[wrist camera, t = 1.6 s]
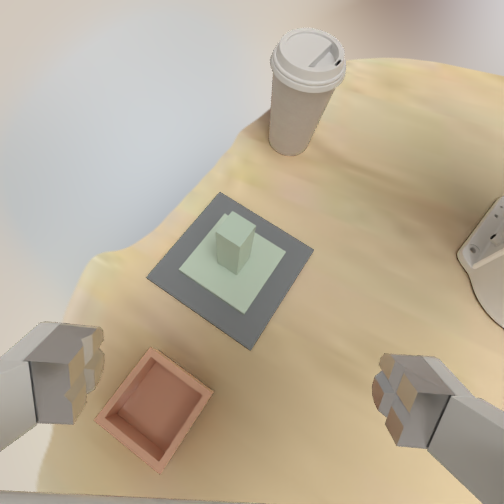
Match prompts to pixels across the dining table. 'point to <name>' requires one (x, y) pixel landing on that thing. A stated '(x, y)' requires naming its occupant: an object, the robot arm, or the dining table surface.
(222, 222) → the lid
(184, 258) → the mat
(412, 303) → the dining table surface
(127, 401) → the open box
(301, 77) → the coffee cup
